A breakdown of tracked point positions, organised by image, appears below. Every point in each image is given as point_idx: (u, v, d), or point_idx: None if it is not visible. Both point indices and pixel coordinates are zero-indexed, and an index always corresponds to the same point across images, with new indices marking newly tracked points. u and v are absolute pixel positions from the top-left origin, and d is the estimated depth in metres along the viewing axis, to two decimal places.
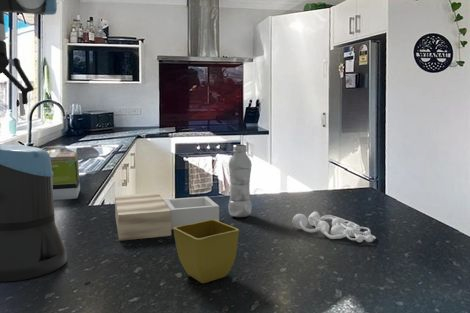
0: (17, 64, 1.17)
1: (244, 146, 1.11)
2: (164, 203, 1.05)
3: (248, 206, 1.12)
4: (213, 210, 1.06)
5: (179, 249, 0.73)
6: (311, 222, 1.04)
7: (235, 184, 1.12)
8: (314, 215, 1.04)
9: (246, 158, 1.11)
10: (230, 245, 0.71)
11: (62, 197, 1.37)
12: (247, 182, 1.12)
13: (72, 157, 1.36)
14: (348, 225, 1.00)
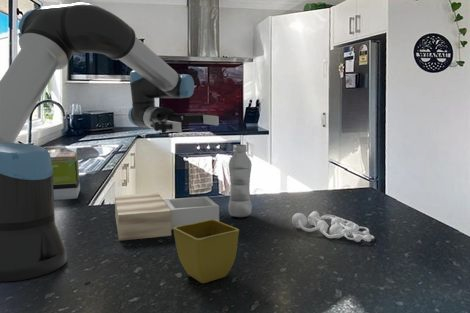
0: None
1: (244, 146, 1.11)
2: (164, 203, 1.05)
3: (248, 206, 1.12)
4: (213, 210, 1.06)
5: (179, 249, 0.73)
6: (311, 221, 1.05)
7: (235, 184, 1.12)
8: (314, 215, 1.05)
9: (246, 158, 1.11)
10: (230, 245, 0.71)
11: (62, 197, 1.37)
12: (247, 182, 1.12)
13: (72, 157, 1.36)
14: (347, 225, 1.00)
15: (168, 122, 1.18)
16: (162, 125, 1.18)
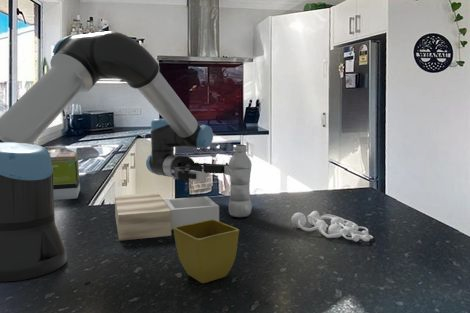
0: None
1: (244, 146, 1.11)
2: (164, 203, 1.05)
3: (248, 206, 1.12)
4: (213, 210, 1.06)
5: (179, 249, 0.73)
6: (310, 221, 1.05)
7: (235, 184, 1.12)
8: (313, 214, 1.05)
9: (246, 158, 1.11)
10: (230, 245, 0.71)
11: (62, 197, 1.37)
12: (247, 182, 1.12)
13: (72, 157, 1.36)
14: (346, 224, 1.01)
15: (192, 171, 1.18)
16: (185, 174, 1.18)
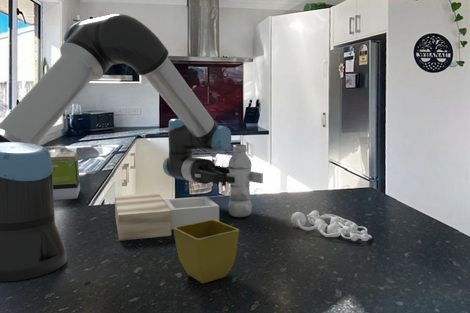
0: None
1: (244, 146, 1.11)
2: (164, 203, 1.05)
3: (248, 206, 1.12)
4: (213, 210, 1.06)
5: (179, 249, 0.73)
6: (310, 220, 1.06)
7: None
8: (313, 214, 1.06)
9: (246, 158, 1.11)
10: (230, 245, 0.71)
11: (62, 197, 1.37)
12: (247, 182, 1.12)
13: (72, 157, 1.36)
14: (346, 224, 1.01)
15: (230, 175, 1.11)
16: (223, 178, 1.11)
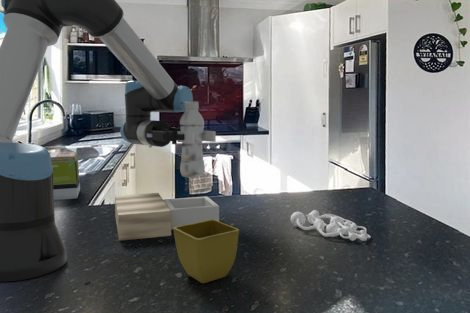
0: None
1: (195, 102, 1.06)
2: (164, 203, 1.05)
3: (200, 166, 1.07)
4: (213, 210, 1.06)
5: (179, 249, 0.73)
6: (310, 220, 1.06)
7: (185, 143, 1.06)
8: (313, 213, 1.06)
9: (197, 115, 1.06)
10: (230, 245, 0.71)
11: (62, 197, 1.37)
12: (199, 140, 1.06)
13: (72, 157, 1.36)
14: (345, 224, 1.01)
15: (180, 132, 1.05)
16: (173, 136, 1.05)
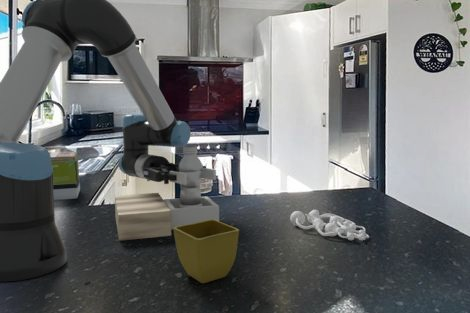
0: None
1: (194, 148, 1.07)
2: (164, 203, 1.05)
3: None
4: (213, 210, 1.06)
5: (179, 249, 0.73)
6: (310, 220, 1.07)
7: (184, 188, 1.07)
8: (313, 213, 1.07)
9: (196, 160, 1.07)
10: (230, 245, 0.71)
11: (62, 197, 1.37)
12: (197, 185, 1.08)
13: (72, 157, 1.36)
14: (344, 224, 1.02)
15: (172, 173, 1.06)
16: (165, 176, 1.06)
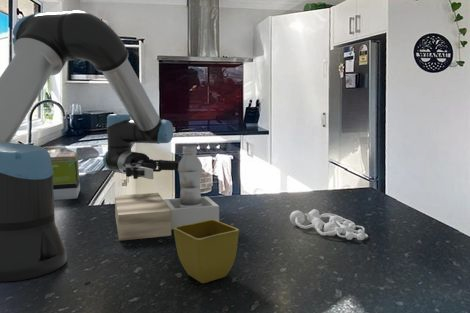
0: (164, 160, 1.29)
1: (193, 148, 1.07)
2: (164, 203, 1.05)
3: None
4: (213, 210, 1.06)
5: (179, 249, 0.73)
6: (309, 219, 1.07)
7: (184, 188, 1.07)
8: (312, 212, 1.07)
9: (196, 160, 1.07)
10: (230, 245, 0.71)
11: (62, 197, 1.37)
12: (197, 185, 1.08)
13: (72, 157, 1.36)
14: (344, 223, 1.02)
15: (140, 168, 1.13)
16: (134, 171, 1.14)
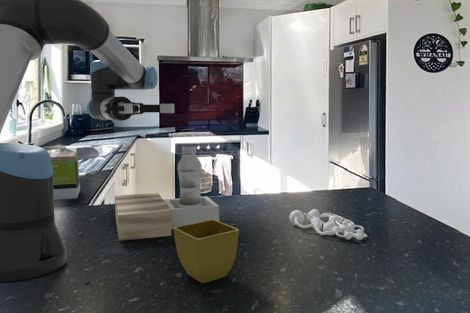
0: None
1: (193, 147, 1.07)
2: (164, 203, 1.05)
3: None
4: (213, 210, 1.06)
5: (179, 249, 0.73)
6: (309, 219, 1.07)
7: (184, 188, 1.07)
8: (312, 212, 1.07)
9: (195, 160, 1.07)
10: (230, 245, 0.71)
11: (62, 197, 1.37)
12: (197, 185, 1.08)
13: (72, 157, 1.36)
14: (343, 223, 1.02)
15: (120, 104, 1.15)
16: (114, 107, 1.15)
